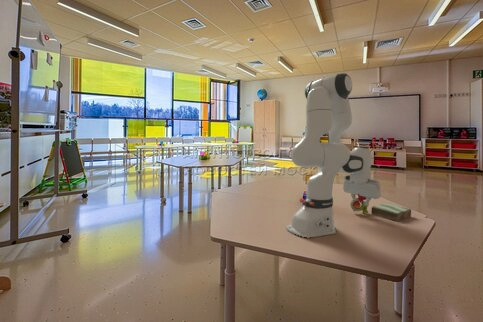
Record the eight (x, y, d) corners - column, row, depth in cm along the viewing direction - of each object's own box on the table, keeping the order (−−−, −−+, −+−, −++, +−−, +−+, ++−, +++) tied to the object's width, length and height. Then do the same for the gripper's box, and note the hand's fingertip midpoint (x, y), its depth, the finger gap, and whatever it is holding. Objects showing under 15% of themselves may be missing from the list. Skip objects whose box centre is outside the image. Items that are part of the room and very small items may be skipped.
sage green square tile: (396, 221, 122) (396, 213, 122) (371, 214, 133) (371, 206, 133) (410, 216, 128) (411, 209, 128) (385, 210, 140) (386, 203, 139)
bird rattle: (355, 217, 133) (372, 213, 131) (349, 200, 130) (368, 195, 128) (351, 211, 139) (368, 207, 136) (346, 194, 136) (364, 189, 133)
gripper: (384, 180, 124) (383, 207, 126) (349, 175, 142) (348, 198, 144) (375, 181, 121) (374, 209, 123) (341, 175, 139) (341, 200, 141)
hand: (360, 203), depth 133 cm, fingers closed on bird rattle, 5 cm apart
